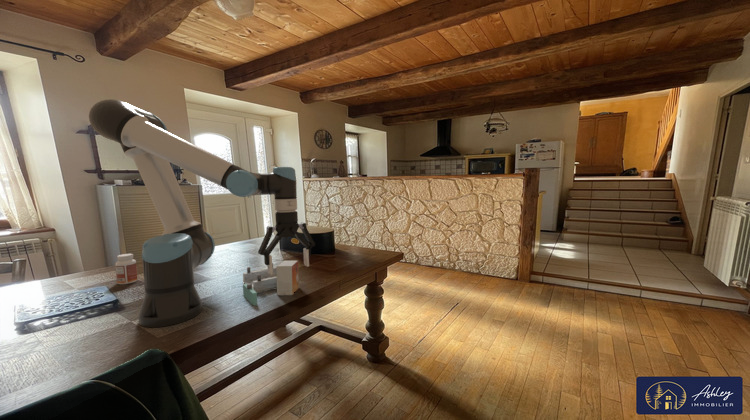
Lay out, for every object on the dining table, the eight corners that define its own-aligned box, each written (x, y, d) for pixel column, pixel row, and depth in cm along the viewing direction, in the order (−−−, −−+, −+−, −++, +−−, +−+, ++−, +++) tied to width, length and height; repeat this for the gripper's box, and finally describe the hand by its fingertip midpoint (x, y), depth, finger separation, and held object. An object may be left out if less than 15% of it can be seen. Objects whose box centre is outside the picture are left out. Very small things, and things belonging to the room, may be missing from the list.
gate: (252, 305, 89) (252, 289, 89) (242, 295, 98) (242, 281, 97) (257, 304, 90) (257, 288, 90) (247, 294, 99) (247, 280, 98)
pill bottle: (137, 278, 116) (135, 252, 115) (137, 282, 111) (135, 255, 110) (117, 281, 112) (115, 254, 111) (116, 286, 107) (114, 257, 106)
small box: (292, 295, 98) (291, 266, 97) (276, 295, 98) (275, 266, 97) (299, 287, 106) (298, 260, 105) (284, 287, 106) (283, 260, 105)
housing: (255, 293, 99) (254, 277, 99) (242, 282, 111) (242, 267, 110) (290, 285, 108) (289, 270, 107) (275, 276, 119) (275, 262, 119)
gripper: (253, 214, 88) (256, 280, 90) (322, 209, 104) (324, 264, 106) (246, 213, 94) (249, 274, 96) (313, 208, 110) (315, 261, 112)
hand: (289, 269), depth 101 cm, fingers open, 13 cm apart
